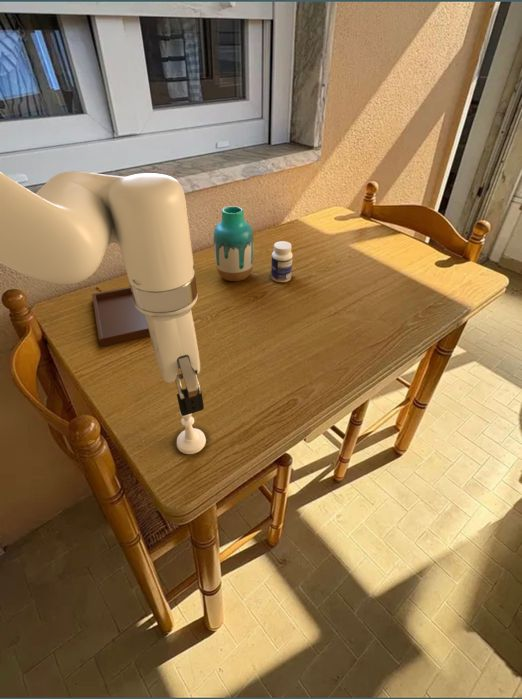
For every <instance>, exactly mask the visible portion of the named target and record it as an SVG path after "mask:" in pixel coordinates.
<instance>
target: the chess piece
mask: <svg viewBox="0 0 522 699" xmlns="http://www.w3.org/2000/svg"><path fill="white" fill-rule="evenodd" d="M179 415H180V417H181V420H180V424H181V425H182V426H183V427H184V430H182V431H181V432H180V433H179V434H178V436H177V438H176V447H177V449H178V451H179V452H180V453H182V454H186V455H194V454H197V453H199V452H200V451H202V450H203V448H204V447H205V446H206V442H207V438H206V435H205V433H204V432H203V431H202V430H201V429H199V428H196V427H193V425H194V423H195V418H194V416H192V415H193V413H192V414H188V415H185V416H182V415H181V412H180V411H179Z"/></svg>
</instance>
